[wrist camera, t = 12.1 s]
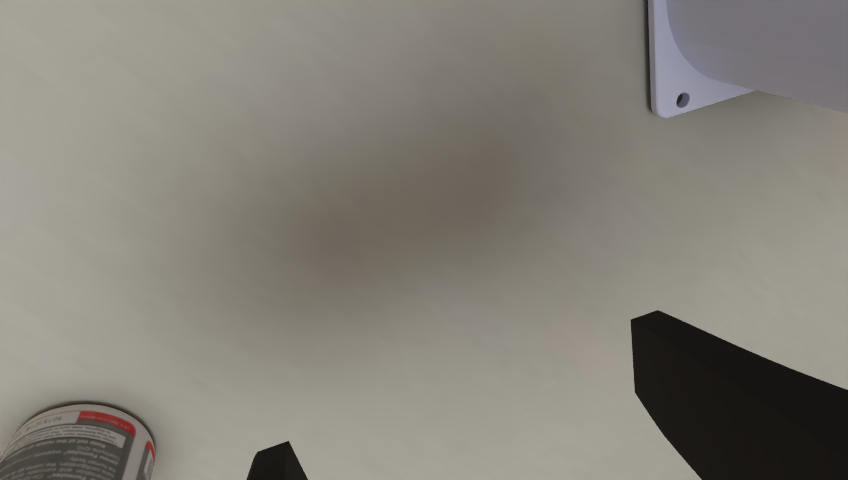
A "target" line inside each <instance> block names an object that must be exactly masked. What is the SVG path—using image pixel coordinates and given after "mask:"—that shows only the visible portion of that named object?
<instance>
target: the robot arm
mask: <svg viewBox="0 0 848 480" xmlns="http://www.w3.org/2000/svg"><path fill="white" fill-rule="evenodd" d="M648 15H649V49H650V84H651V108H652V111H653V113H654V114H655V115H657V116H660V117H663V118H670V117H673V116H676V115H680V114H683V113H686V112H689V111H692V110H696V109H699V108H702V107H705V106H708V105H711V104H715V103H718V102H721V101H724V100H727V99H731V98H734V97H737V96H740V95H743V94H747V93H750V92H753V91H756V90H757V91H761V92H765V93H769V94H773V95H777V96H781V97H785V98H789V99H793V100H797V101H801V102H805V103H809V104H813V105H817V106H821V107H825V108H829V109H833V110H837V111H841V112H846V113H848V0H648ZM680 94H682V95H683V96H682V100H681V101H680V103H679V104H676V101H677V98H678V96H679V95H680ZM631 333H632V350H633V367H634V384H635V393H636V395H637V396H638V398H639V399H640V401H641V402H642V404H643V405H644V407H645V408H646V410H647V411H648V413H649V415H650V416H651V417H652V419H653V420H654V422H655V423H656V425H657V426H658V428H659V429H660V430H661V432H662V433H663V435H664V436H665V437H666V438H667V440H668V441H669V442H670V443H671V444H672V445H673V447H674V448H675V449H676V450H677V451H678V452H679V454H680V455H681V456H682V457H683V458H684V459H685V461H686V462H687V463H688V464H689V465H690V466H691V468H692V469H693V470H694V471H695V472H696V473H697V475H698V476H699V477H700V478H701V479H702V480H848V390H846V389H843V388H840V387H838V386H835V385H832V384H830V383H827V382H824V381H822V380H819V379H816V378H814V377H811V376H808V375H806V374H803V373H801V372H798V371H795V370H793V369H790V368H788V367H786V366H783V365H781V364H778V363H776V362H773V361H771V360H769V359H766V358H764V357H761V356H759V355H757V354H754V353H752V352H750V351H748V350H745V349H743V348H741V347H738V346H736V345H734V344H732V343H729V342H727V341H725V340H723V339H721V338H718V337H716V336H714V335H712V334H710V333H707V332H705V331H703V330H701V329H699V328H697V327H694V326H692V325H690V324H688V323H686V322H683V321H681V320H679V319H677V318H675V317H672V316H670V315H668V314H665V313H663V312H661V311H658V310H657V311H654V312H651V313H648V314H646V315H643V316H640V317H637V318H634V319H631ZM247 480H308V479H307V477H306V475H305V473H304V471H303V469H302V467H301V465H300V463H299V461H298V459H297V457H296V455H295V453H294V451H293V449H292V447H291V445H290V443H289V441H287V442H284V443H281V444H279V445H276V446H273V447H270V448H267V449H264V450H262V451H259V452H257V454H256V455H255V457H254V459H253V462H252V465H251V468H250V471H249V474H248V477H247Z"/></svg>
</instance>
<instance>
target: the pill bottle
mask: <svg viewBox="0 0 848 480" xmlns="http://www.w3.org/2000/svg"><path fill="white" fill-rule="evenodd" d="M154 462H155V448H154V444H153V441H152V439H151V437H150V435H149V433H148V432H147V430H146V429H145V428H144V426H143V425H142V424H141V423H139V422H138V421H137V420H136V419H134V418H133V417H131V416H130V415H128V414H126V413H124V412H122V411H120V410H117V409H114V408H110V407H106V406H101V405H92V404H81V405H71V406H65V407H60V408H56V409H52V410H49V411H46V412H44V413H41V414H39V415H38V416H36V417H34V418H32V419H31V420H29V421H28V422H26V423H25V424H24V425H23V426H22V427H21V428H20V429H19V430H18V431H17V432H16V434H15V435H14V436H13V438H12V440H11V441H10V443H9V445H8V446H7V448H6V450H5V452H4V454H3V456H2V457H1V459H0V480H150V479H151V474H152V470H153V466H154Z"/></svg>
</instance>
